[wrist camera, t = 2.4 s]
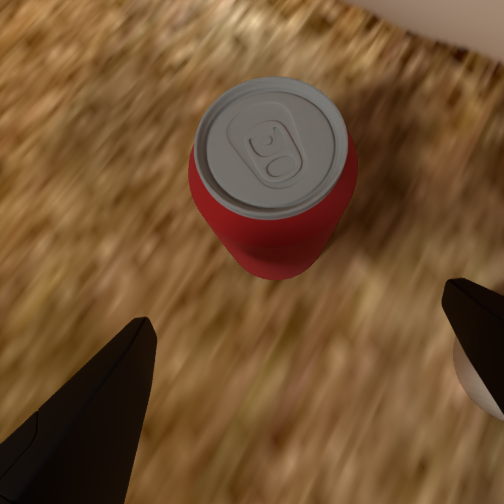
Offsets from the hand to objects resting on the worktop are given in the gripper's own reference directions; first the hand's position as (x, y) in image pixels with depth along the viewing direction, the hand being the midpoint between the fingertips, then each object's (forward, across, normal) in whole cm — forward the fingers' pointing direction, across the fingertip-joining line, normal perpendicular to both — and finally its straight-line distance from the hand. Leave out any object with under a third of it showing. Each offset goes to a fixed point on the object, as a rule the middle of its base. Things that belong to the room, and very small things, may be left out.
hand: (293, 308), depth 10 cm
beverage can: (+13, 0, +5) cm, 13 cm away
